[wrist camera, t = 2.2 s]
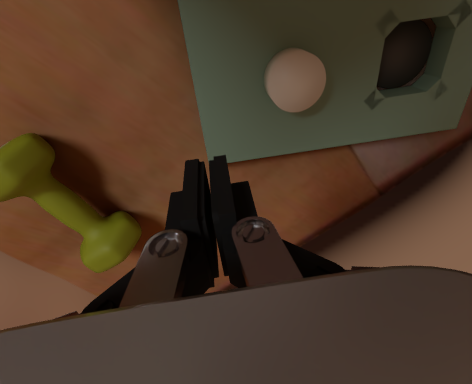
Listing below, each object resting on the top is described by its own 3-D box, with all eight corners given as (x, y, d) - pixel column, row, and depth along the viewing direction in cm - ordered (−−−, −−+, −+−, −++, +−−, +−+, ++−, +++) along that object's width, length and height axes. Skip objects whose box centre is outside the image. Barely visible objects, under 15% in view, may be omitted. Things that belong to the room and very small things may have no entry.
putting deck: (176, -14, 23) (174, -16, 21) (498, -58, 24) (526, -64, 22) (208, 155, 32) (209, 165, 30) (440, 120, 33) (456, 128, 31)
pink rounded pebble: (262, 51, 24) (268, 56, 22) (317, 44, 24) (328, 47, 22) (265, 107, 27) (270, 116, 25) (314, 100, 27) (323, 108, 25)
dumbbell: (151, 217, 37) (142, 258, 31) (106, 243, 38) (89, 286, 32) (43, 115, 28) (1, 145, 22) (-9, 154, 30) (-61, 192, 24)
